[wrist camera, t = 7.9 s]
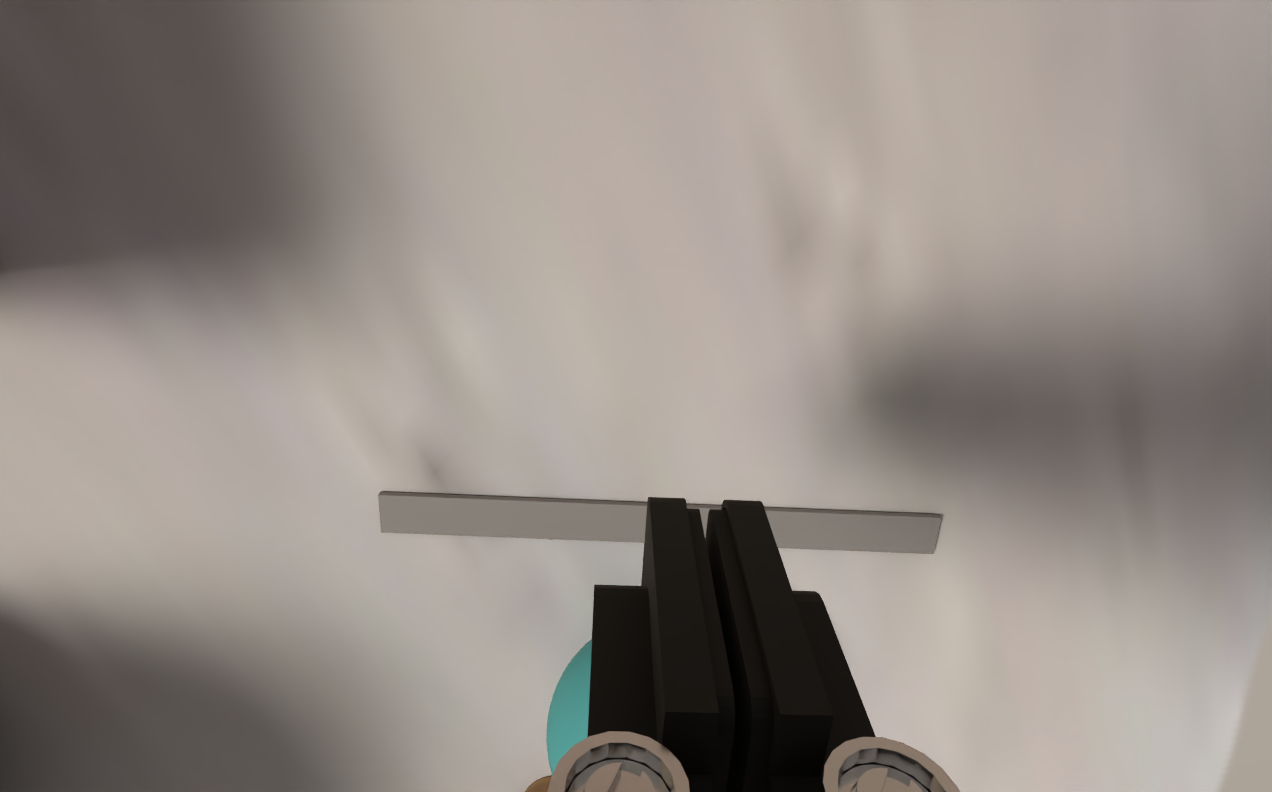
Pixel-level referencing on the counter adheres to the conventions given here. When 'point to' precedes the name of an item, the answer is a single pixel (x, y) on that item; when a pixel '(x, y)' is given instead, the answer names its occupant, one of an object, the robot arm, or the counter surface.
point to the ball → (570, 707)
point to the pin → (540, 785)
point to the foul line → (643, 522)
